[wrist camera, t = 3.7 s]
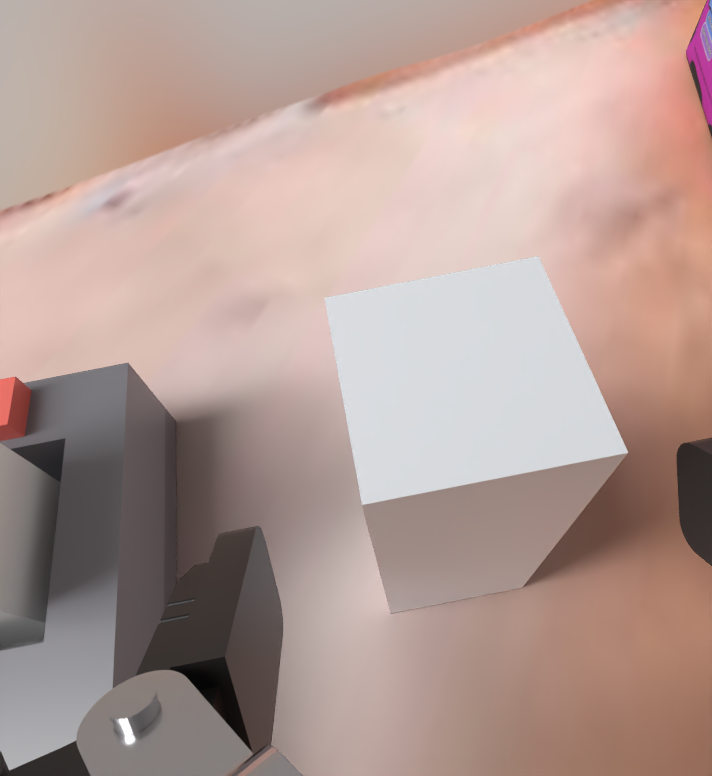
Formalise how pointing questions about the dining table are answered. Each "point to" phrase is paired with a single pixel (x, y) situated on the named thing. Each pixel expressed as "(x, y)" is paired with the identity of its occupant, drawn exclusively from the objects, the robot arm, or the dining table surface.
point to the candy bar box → (703, 60)
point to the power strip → (79, 546)
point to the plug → (468, 427)
